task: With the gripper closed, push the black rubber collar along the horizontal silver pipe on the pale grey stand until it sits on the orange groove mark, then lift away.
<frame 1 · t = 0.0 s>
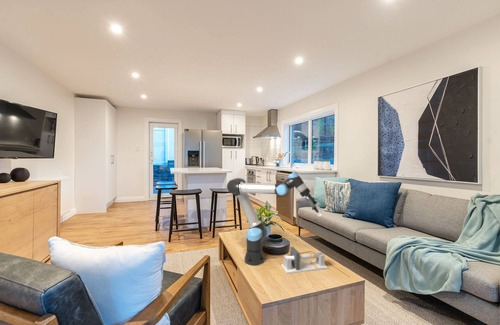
hand: (320, 213, 173), 36 cm above the table, fingers open, 13 cm apart
collar: (294, 257, 163), point 8 cm above the table, slide at -7.0 cm
pipe stand: (304, 267, 165), on the table
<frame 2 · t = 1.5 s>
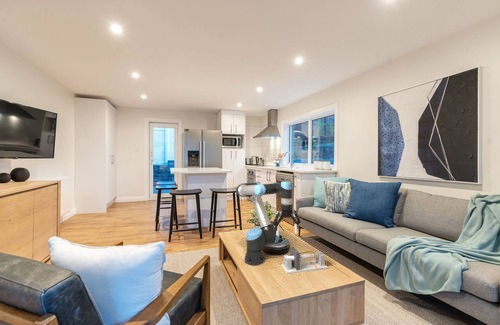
hand: (286, 234, 161), 25 cm above the table, fingers open, 13 cm apart
nothing on the table moved.
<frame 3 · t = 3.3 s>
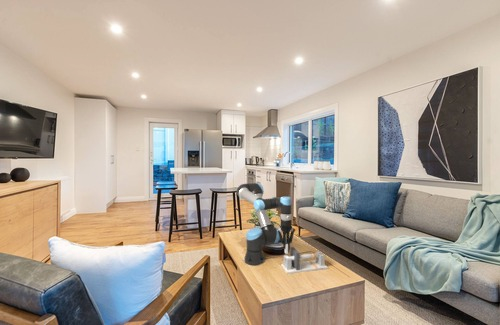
hand: (286, 252, 161), 12 cm above the table, fingers closed
nothing on the table moved.
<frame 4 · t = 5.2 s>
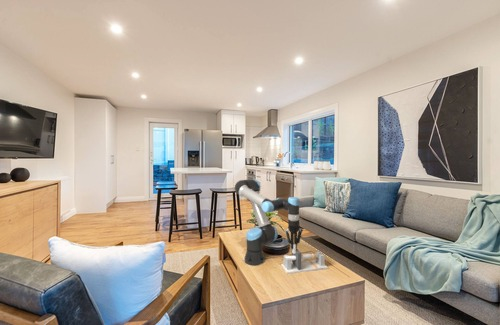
hand: (293, 253, 162), 11 cm above the table, fingers closed
collar: (296, 257, 163), point 8 cm above the table, slide at -5.8 cm, touching gripper
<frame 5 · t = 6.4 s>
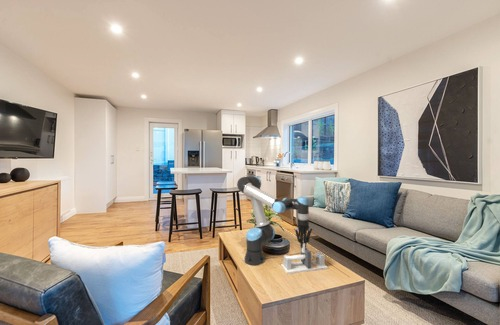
hand: (303, 252, 164), 11 cm above the table, fingers closed
collar: (305, 256, 165), point 8 cm above the table, slide at 1.2 cm, touching gripper
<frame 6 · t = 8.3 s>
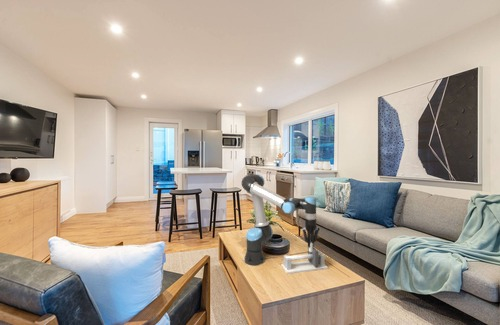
hand: (310, 251, 165), 11 cm above the table, fingers closed
collar: (313, 255, 166), point 8 cm above the table, slide at 6.9 cm, touching gripper
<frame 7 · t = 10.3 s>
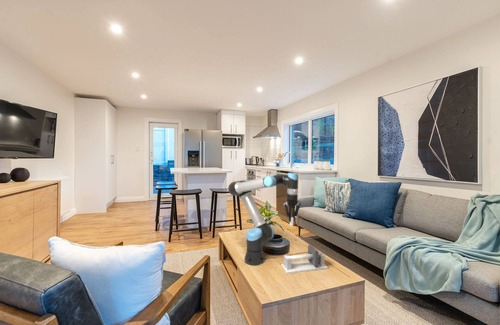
hand: (291, 225, 171), 28 cm above the table, fingers closed
collar: (313, 255, 166), point 8 cm above the table, slide at 6.9 cm
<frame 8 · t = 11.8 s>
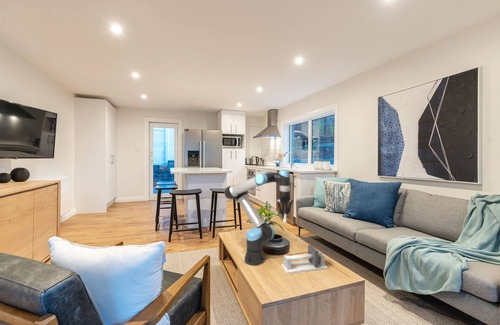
hand: (284, 222, 173), 29 cm above the table, fingers closed
nothing on the table moved.
at the end: collar slide at 6.9 cm; pipe stand tilted 0° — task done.
